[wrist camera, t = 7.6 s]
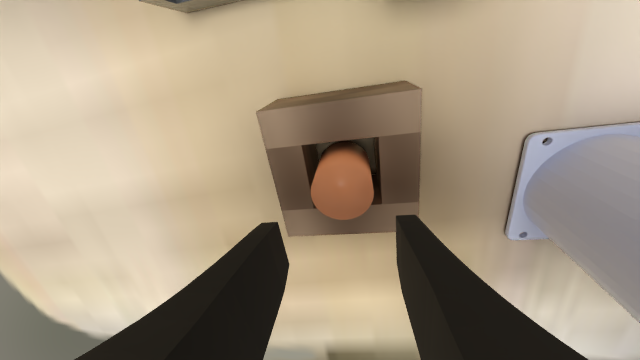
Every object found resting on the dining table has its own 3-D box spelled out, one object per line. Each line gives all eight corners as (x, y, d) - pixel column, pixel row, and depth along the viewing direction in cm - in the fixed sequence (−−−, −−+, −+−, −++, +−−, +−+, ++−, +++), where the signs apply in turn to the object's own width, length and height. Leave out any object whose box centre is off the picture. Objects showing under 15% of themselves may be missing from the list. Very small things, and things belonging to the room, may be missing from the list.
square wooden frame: (405, 80, 15) (421, 88, 11) (405, 196, 18) (418, 230, 15) (277, 99, 16) (255, 112, 13) (300, 203, 19) (288, 236, 16)
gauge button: (367, 138, 14) (371, 162, 11) (370, 185, 15) (375, 218, 12) (315, 144, 14) (305, 168, 11) (323, 188, 16) (316, 221, 13)
